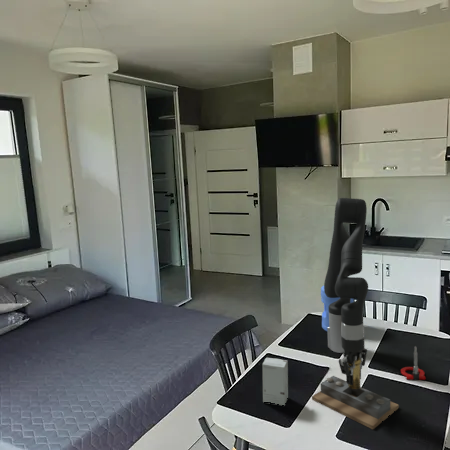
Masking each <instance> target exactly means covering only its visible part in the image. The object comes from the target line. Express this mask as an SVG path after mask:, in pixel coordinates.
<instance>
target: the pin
mask: <svg viewBox="0 0 450 450" xmlns="http://www.w3.org/2000/svg"><path fill="white" fill-rule="evenodd" d="M360 363H361V359H360V360H356V362H355V368H354V369H353V385H350V384H348V386H349V388H351V389H359V388H360V387H361V379H360ZM348 364H349V363H348ZM349 365H351V366H352V364H349ZM349 371H350V368H349Z"/></svg>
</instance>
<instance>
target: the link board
mask: <svg viewBox="0 0 450 450" xmlns="http://www.w3.org/2000/svg"><path fill="white" fill-rule="evenodd" d="M311 399H312V401H314V402H316V403H318V404H320V405H322V406H324V407H326V408H328V409H330V410H333V411H335V412H336V413H338V414H341V415H342V416H345V417H347V418H349V419H351V420H353V421H354V422H357V423H359V424H360V425H362V426H365V427H367V428H369V429H371V430H375V429H376V428H377V427H378V426H379V425H380V424H382V423H383V422H384V421H385V420H386V419H388V418H389V417H390V416H391V415H392V414H393V413H394V411H395V412H396V411H398V409H399V407H400V405H399V404H398V403H395V402H394V401H391V399H390V398H388V397H385V396H383V395H380V394H378V393H376V392H373V391H371V390H368V389H366V388H364V387H361V386H360V388H359V389H351V388H349V386H348V384H347V382H346V380H345V379H342V378H340V377H337V376H336V375H332V376H330V377H327V378H326V380H324V381H322V382H321V383H320V390H319V391H318V392H317V393H315V394H313V395H312V396H311ZM389 415H390V416H389ZM388 416H389V417H388ZM382 421H383V422H382Z"/></svg>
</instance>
